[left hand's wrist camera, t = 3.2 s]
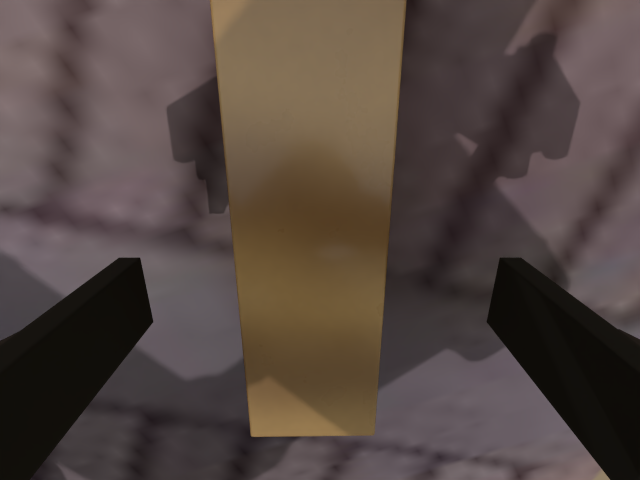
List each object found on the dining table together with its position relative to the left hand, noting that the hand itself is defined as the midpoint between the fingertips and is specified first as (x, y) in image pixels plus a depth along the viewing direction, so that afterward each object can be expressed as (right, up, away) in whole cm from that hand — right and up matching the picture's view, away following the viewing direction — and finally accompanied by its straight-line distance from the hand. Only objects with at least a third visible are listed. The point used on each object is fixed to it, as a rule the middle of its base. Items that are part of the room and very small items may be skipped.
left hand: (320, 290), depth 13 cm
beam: (0, +25, -2) cm, 25 cm away
